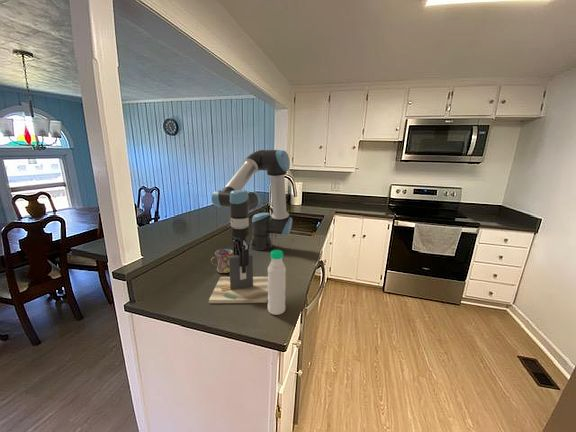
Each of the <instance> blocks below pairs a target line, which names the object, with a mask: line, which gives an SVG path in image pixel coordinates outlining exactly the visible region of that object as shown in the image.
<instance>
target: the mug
mask: <svg viewBox="0 0 576 432" xmlns="http://www.w3.org/2000/svg"><path fill="white" fill-rule="evenodd" d="M214 255H215V256H213V257H211V259H210V262H211V264H212V265H213V266H216V272H217V273H220V274H227V273H230V269H229V256H233V249H231V248H230V249H229V248H221V249H218V250H216V251H215V252H214ZM213 259H216V260H217V264H215V263H214V262H213Z"/></svg>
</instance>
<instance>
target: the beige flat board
mask: <svg viewBox="0 0 576 432" xmlns="http://www.w3.org/2000/svg"><path fill="white" fill-rule="evenodd" d="M227 286H230V276H219V279H218V281H217V283H216V285H215V286H214V289H213V290H212V293H211V295H210V297H209V298H208V304H268V276H253V287H247V288H239V289H232V290H231V289H230V288H229V289H221V287H227Z"/></svg>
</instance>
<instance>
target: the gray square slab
mask: <svg viewBox="0 0 576 432" xmlns="http://www.w3.org/2000/svg"><path fill="white" fill-rule="evenodd" d="M253 259H254V257H253V254H252V253H249V265H248V266H246V279H242V280H240V267H239V265H241V264H240V255H233V254H232V256H229V269H230V272H229V277H230V286H227V287H221V289H229V288H230V289H231V290H232V289H239V288H247V287H253V277H254V269H253V268H254V266H253V265H254V264H253V263H254V261H253Z"/></svg>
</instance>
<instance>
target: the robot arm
mask: <svg viewBox="0 0 576 432" xmlns="http://www.w3.org/2000/svg"><path fill="white" fill-rule="evenodd" d="M290 162H291V161H290V157H289V154H288V152H287V151H286V150H284V149H283V150H282V149H281V150H280V149H259V150H257V151H255V152H254V151H253V152H252V153H250V154H249V155H248V156H246V157H245V159H244V160H242V164H241V167H239V169H238V170H237V171H236V172H235V174H234V175H233V176H232V178H231V179H230V180H229V181H228V182H227V184H225V186H224V187H223V188H222V190H215V191H214V192H212V195H211V203H212V204H213V206H215V207H220V208H229V211H230V220H229V223H230V227H231V228H230V236H231V241H232V251H233V254H232V256H233V255H240V264H241V265H239V267H240V280H242V279H246V266H248V265H249V254H250V252H249V251H250V250H249V249H252V250H254V251H268V250H270V249H272V248H273V241H272V237H271V234H274V235H276V234H277V235H282V236H283V235H287V236H288V235H289V234H290V232H291V229H292V226H293V218H292V217H290V213H289V212H288V211H287V198H286V197H287V196H286V195H287V194H286V181H285V180H286V179H285V176H286V175H287V173H288V172H289V170H290V166H291V163H290ZM259 171H266V175H267V176H269V180H270V181H269V182H270V191H271V192H270V193H271V203H272V204H271V205H272V206H271V207H272V213H271V214H270V212H259V213H255V214H254V215H253V216H252V219H251V220H252V221H251V222H252V225H251V226H252V237H251V241H250V242H249V243H250V244H247V237H248V236H249V234H250V229H249V226H250V224H249V223H250V222H249V220H250V219H249V211H250V210H252V209H256V208H257V207H258V206H259V205H260V204H261V199H262V198H261V196H260V194H259V193H258V192H256V191H247V190H243V189H244V187H245V186H246V185H247V183H248V182H249V180H251V178H252V177H253V175H255V174H256V173H257V172H259Z"/></svg>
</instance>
